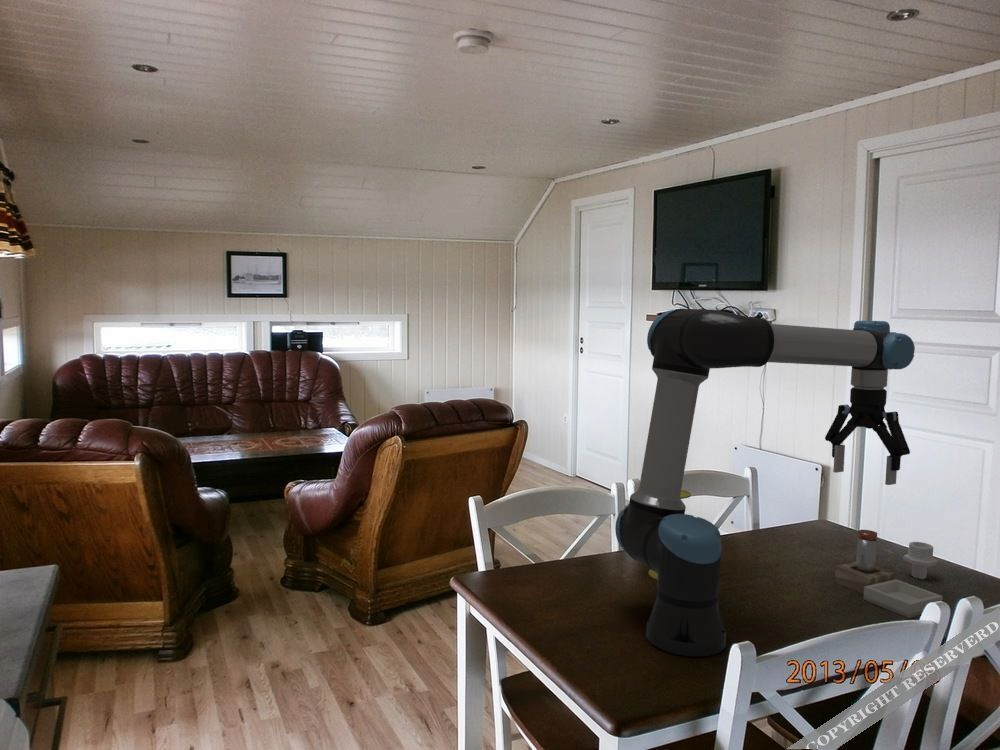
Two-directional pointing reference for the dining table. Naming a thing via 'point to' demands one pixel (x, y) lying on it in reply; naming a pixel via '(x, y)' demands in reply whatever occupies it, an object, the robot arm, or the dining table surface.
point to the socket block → (860, 577)
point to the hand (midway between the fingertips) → (863, 477)
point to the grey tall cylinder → (866, 551)
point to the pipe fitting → (920, 558)
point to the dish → (900, 597)
